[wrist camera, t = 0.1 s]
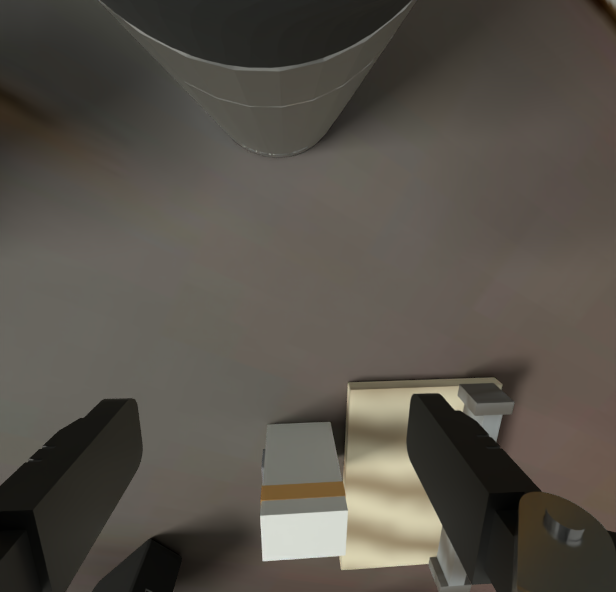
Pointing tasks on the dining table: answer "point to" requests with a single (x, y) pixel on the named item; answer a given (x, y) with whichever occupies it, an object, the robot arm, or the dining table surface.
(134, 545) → the dining table surface
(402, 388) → the mount board
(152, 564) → the electronic device
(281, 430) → the module
